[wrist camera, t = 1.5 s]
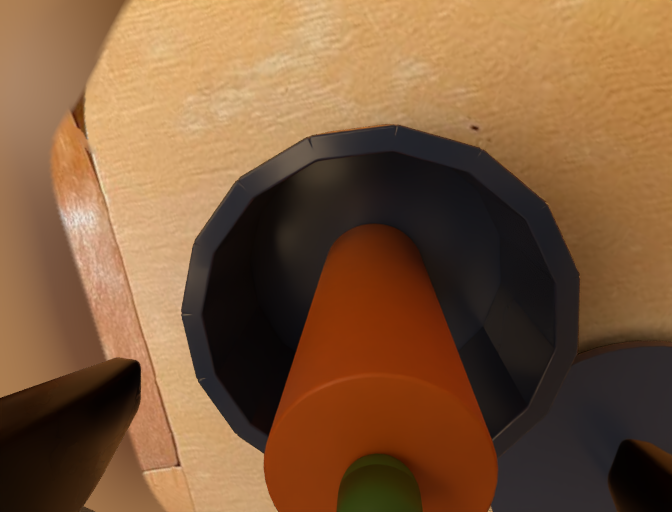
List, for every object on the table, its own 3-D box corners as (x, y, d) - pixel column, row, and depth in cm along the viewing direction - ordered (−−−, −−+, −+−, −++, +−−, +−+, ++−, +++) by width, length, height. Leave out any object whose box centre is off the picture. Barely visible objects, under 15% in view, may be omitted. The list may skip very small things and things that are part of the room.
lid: (611, 599, 21) (676, 728, 16) (425, 466, 19) (441, 567, 15) (831, 445, 18) (985, 552, 13) (629, 274, 16) (725, 331, 12)
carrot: (380, 334, 17) (400, 741, 6) (305, 277, 17) (170, 601, 5) (444, 264, 16) (615, 591, 5) (366, 202, 16) (356, 405, 4)
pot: (391, 428, 19) (399, 547, 14) (191, 285, 18) (115, 353, 12) (573, 247, 16) (671, 307, 11) (350, 62, 15) (340, 29, 10)
